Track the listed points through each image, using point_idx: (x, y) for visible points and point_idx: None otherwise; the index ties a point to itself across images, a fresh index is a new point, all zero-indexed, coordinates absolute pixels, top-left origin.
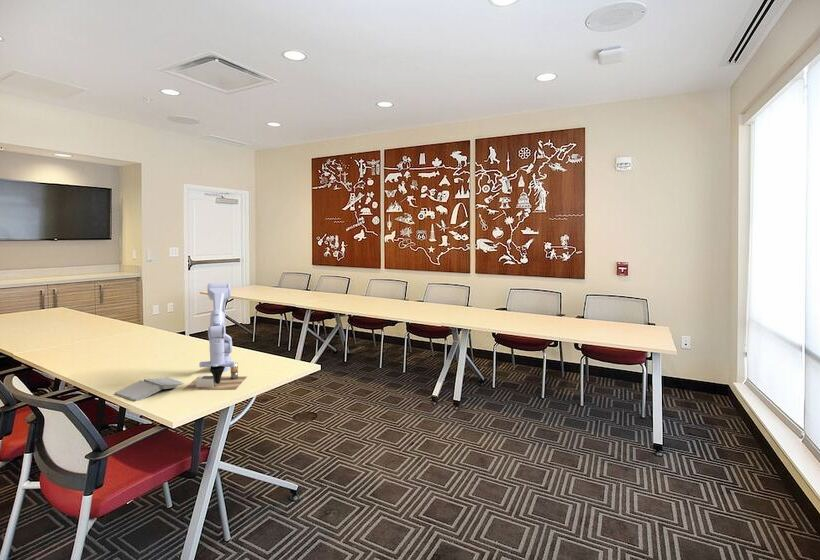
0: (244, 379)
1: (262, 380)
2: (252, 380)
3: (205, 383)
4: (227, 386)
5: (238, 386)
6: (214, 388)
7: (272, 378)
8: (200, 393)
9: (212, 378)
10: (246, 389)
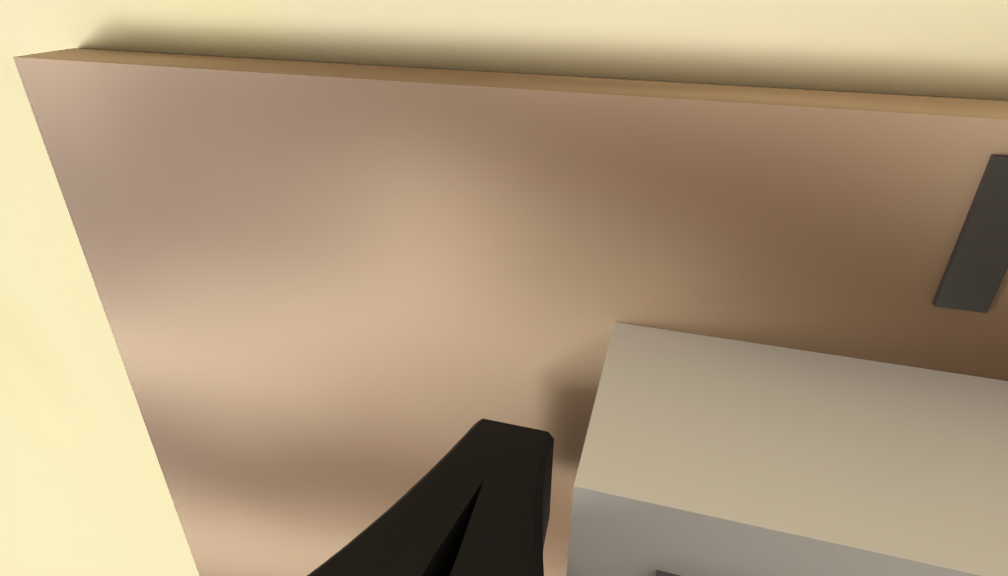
0: (200, 571)
1: (59, 529)
2: (168, 562)
3: (844, 429)
4: (289, 307)
5: (92, 274)
6: (536, 210)
7: (5, 555)
8: (943, 31)
9: (603, 562)
10: (14, 217)
